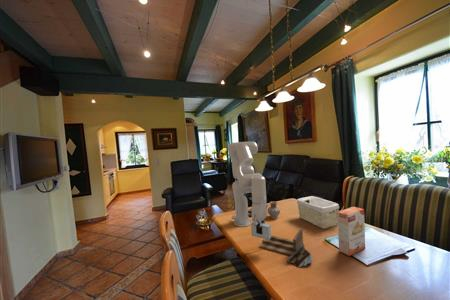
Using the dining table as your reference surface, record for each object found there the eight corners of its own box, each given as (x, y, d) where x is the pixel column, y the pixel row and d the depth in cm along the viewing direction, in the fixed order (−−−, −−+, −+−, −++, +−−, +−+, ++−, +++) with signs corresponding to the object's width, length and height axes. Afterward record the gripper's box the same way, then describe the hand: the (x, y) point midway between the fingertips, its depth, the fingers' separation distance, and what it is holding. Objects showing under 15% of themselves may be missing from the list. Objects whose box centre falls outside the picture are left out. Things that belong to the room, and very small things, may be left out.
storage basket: (341, 225, 127) (340, 203, 127) (323, 230, 121) (322, 208, 121) (313, 214, 149) (312, 195, 149) (296, 218, 144) (295, 198, 143)
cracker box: (350, 257, 93) (348, 214, 92) (338, 251, 98) (336, 211, 98) (366, 248, 99) (364, 208, 99) (354, 243, 105) (352, 205, 104)
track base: (259, 247, 107) (258, 231, 107) (269, 236, 119) (268, 222, 118) (296, 257, 96) (295, 239, 95) (303, 244, 107) (302, 228, 107)
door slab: (251, 235, 105) (250, 223, 105) (254, 233, 108) (253, 221, 107) (269, 240, 99) (268, 227, 99) (271, 237, 102) (270, 224, 102)
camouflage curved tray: (297, 272, 86) (313, 251, 87) (285, 260, 91) (300, 240, 93) (305, 277, 91) (319, 257, 92) (293, 266, 97) (307, 247, 98)
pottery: (274, 221, 141) (273, 205, 140) (251, 212, 162) (250, 198, 161) (284, 217, 147) (283, 202, 146) (261, 209, 168) (260, 195, 167)
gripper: (259, 194, 111) (260, 224, 112) (245, 203, 98) (247, 237, 99) (271, 195, 107) (272, 227, 108) (259, 205, 93) (260, 241, 95)
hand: (260, 231), depth 104 cm, fingers closed on door slab, 2 cm apart
